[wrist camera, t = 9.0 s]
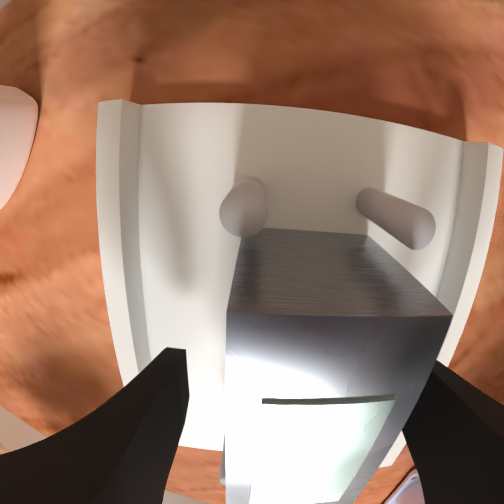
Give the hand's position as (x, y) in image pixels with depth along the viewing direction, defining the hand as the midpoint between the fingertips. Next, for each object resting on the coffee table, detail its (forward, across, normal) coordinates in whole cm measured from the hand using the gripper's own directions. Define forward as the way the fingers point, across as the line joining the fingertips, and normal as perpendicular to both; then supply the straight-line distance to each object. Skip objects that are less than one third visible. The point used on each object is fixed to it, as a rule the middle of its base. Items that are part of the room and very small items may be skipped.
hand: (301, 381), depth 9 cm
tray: (+3, 0, 0) cm, 3 cm away
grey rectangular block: (+3, 0, 0) cm, 3 cm away
